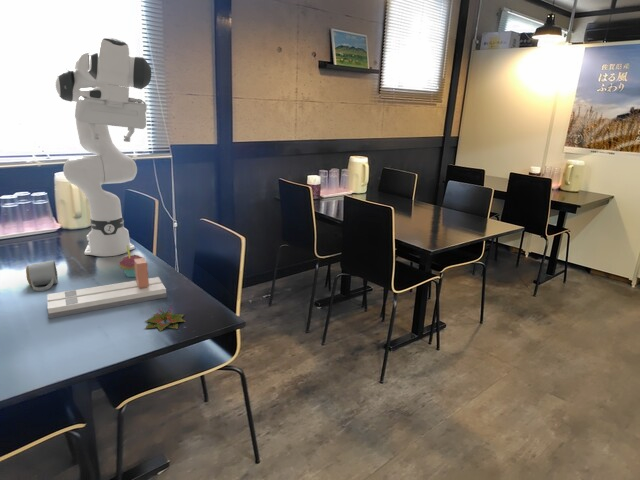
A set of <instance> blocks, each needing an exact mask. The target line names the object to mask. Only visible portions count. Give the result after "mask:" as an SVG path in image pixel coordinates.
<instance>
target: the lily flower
mask: <svg viewBox="0 0 640 480" xmlns="http://www.w3.org/2000/svg"><path fill="white" fill-rule="evenodd" d="M158 310H159V313H158V312H156V313H153V316H152V317H151V318H149V319H147V320H145V321H144V322H147V323H148V322H149V323H148V324H147V325H146V327H145V328H144V329H153V328H158V330H159V332H162V331H163V330H164V329H165V328H168V329H169V328H170V329H176V330H178V329H179V328H178V327H179V324H178V323H179V322H180V323H183V322H184V323H186V322H187V321H186V320H185V319H183V317H184V316H185V314H182V313H181V314H179V313H178V314H175V313H174V312H172V311H174V309H173V308H172V306H171V307H169V309H168V310H167V309H164V310H165V312H164V311H163V310H161V309H160V308H158ZM167 321H169V322H167ZM162 322H164V323H162ZM171 324H172V325H171Z"/></svg>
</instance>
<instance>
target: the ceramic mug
mask: <svg viewBox="0 0 640 480" xmlns="http://www.w3.org/2000/svg"><path fill="white" fill-rule="evenodd" d="M25 274H26V278H27V279H26V280H27V283H28V285H29V286H31V287H32V289H33V290H34V291H36V292H45V291H47V290H49V289H51V288H52V287H53V284H58V282H59V277H58V270H57V265H56V262H55V260H48V261H47V260H46V261H42V262H37V263H32V264H31V263H30V264H28V265H27V266H26V268H25ZM43 285H46V286H43ZM38 286H43V287H38Z"/></svg>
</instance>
